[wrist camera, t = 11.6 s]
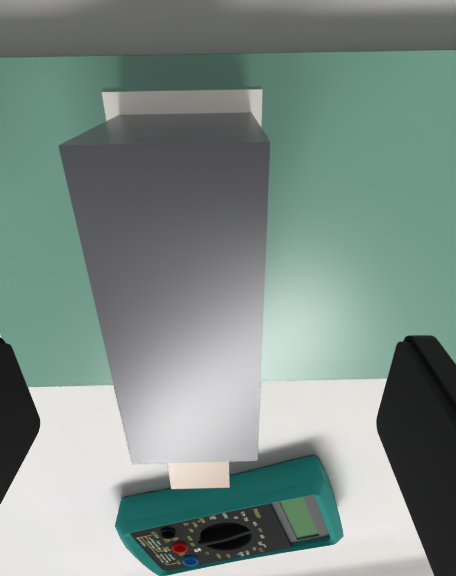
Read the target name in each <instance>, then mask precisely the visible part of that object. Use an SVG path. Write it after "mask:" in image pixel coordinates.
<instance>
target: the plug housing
mask: <svg viewBox="0 0 456 576" xmlns="http://www.w3.org/2000/svg"><path fill="white" fill-rule="evenodd" d="M58 147H59V151H60V156H61V160H62V164H63V169H64V173H65V177H66V182H67V186H68V190H69V194H70V199H71V203H72V207H73V212H74V216H75V220H76V225H77V229H78V233H79V238H80V242H81V246H82V251H83V255H84V259H85V264H86V268H87V272H88V277H89V281H90V285H91V290H92V294H93V298H94V303H95V307H96V311H97V315H98V320H99V324H100V328H101V333H102V337H103V341H104V346H105V350H106V354H107V359H108V363H109V367H110V372H111V376H112V380H113V385H114V389H115V393H116V398H117V402H118V406H119V411H120V415H121V419H122V423H123V428H124V432H125V436H126V441H127V445H128V449H129V454H130V458H131V462H132V464H159V463H167V465H168V472H169V478H170V485H171V489H193V488H230V486H229V462H236V461H258V437H259V412H260V387H261V362H262V337H263V312H264V288H265V263H266V238H267V213H268V188H269V163H270V140H269V139H268V137H267V136H266V134H265V133H264V131H263V129H262V128H261V126H260V125H259V123H258V122H257V120H256V119H255V117H254V116H253V114H252V113H251V112H247V113H191V114H136V115H118V116H116V117H114V118H112V119H110V120H108V121H106V122H104V123H102V124H100V125H98V126H96V127H94V128H92V129H90V130H88V131H86V132H84V133H82V134H80V135H78V136H76V137H74V138H72V139H70V140H68V141H66V142H64V143H62V144H60V145H58Z"/></svg>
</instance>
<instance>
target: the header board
mask: <svg viewBox="0 0 456 576" xmlns="http://www.w3.org/2000/svg"><path fill="white" fill-rule="evenodd" d="M247 112H251V113H252V114H253V116H254V117H255V119H256V120H257V122H258V123H259V125H260V126H261V128H262V129H263V131H264V133H265V134H266V136H267V137H268V139H269V140H270V163H269V188H268V213H267V238H266V263H265V288H264V312H263V337H262V362H261V381H297V380H338V379H379V378H388V374H389V370H390V367H391V363H392V359H393V355H394V352H395V348H396V345H397V343H398V342H403V340H404V338H405V337H406V336H408V335H432V336H434V337H435V338H437V340H438V341H439V342H440V344H441V345H442V346H443V348H444V349H445V350H446V352H447V353H448V354H449V356H450V357H451V358H452V360H453V361H454V362H455V364H456V50H424V51H365V52H305V53H245V54H185V55H126V56H66V57H6V58H0V334H1V337H2V339H3V340H4V341H5V342H6V343H8V344H10V345H11V346H12V348H13V351H14V353H15V356H16V358H17V361H18V364H19V366H20V369H21V371H22V374H23V376H24V379H25V382H26V384H27V387H50V386H91V385H113V380H112V376H111V372H110V367H109V363H108V359H107V354H106V350H105V346H104V341H103V337H102V333H101V328H100V324H99V320H98V315H97V311H96V307H95V303H94V298H93V294H92V290H91V285H90V281H89V277H88V272H87V268H86V264H85V259H84V255H83V251H82V246H81V242H80V238H79V233H78V229H77V225H76V220H75V216H74V212H73V207H72V203H71V199H70V194H69V190H68V186H67V182H66V177H65V173H64V169H63V164H62V160H61V156H60V151H59V147H58V145H60V144H62V143H64V142H66V141H68V140H70V139H72V138H74V137H76V136H78V135H80V134H82V133H84V132H86V131H88V130H90V129H92V128H94V127H96V126H98V125H100V124H102V123H104V122H106V121H108V120H110V119H112V118H114V117H116V116H118V115H136V114H191V113H247Z"/></svg>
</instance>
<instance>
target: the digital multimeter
mask: <svg viewBox="0 0 456 576" xmlns="http://www.w3.org/2000/svg"><path fill="white" fill-rule="evenodd" d="M229 486H230V488H193V489H171V488H169V489H164V490H159V491H154V492H148V493H143V494H137V495H133V496H128V497H125V498H123V499H122V500H121V502H120V506H119V511H118V515H117V520H116V524H115V527H116V529H117V532H118V534H119V536H120V538H121V540H122V542H123V543H124V545H125V547H126V548H127V549H128V550H129V551H130V552H131V553H132V554H133V555H134V556H135V557H136V558H137V559H138V560H139V561H140V562H141V563H142V564H143V565H144V566H146V567H147V568H148V569H150V570H151V571H152V572H154V573H155V574H157V575H158V576H167V575H172V574H176V573H181V572H186V571H191V570H195V569H200V568H205V567H210V566H215V565H220V564H225V563H230V562H235V561H240V560H246V559H251V558H257V557H262V556H268V555H274V554H279V553H285V552H292V551H298V550H304V549H310V548H317V547H323V546H329V545H334V544H336V543H337V542H338V541H339V540H340V539H341V538H342V537H343V530H342V525H341V521H340V516H339V512H338V509H337V505H336V501H335V497H334V493H333V490H332V487H331V484H330V481H329V478H328V476H327V474H326V472H325V469H324V467H323V466H322V464H321V462H320V460H319V458H318V457H315V456H308V457H303V458H299V459H294V460H290V461H286V462H282V463H278V464H275V465H271V466H267V467H263V468H259V469H255V470H251V471H247V472H242V473H238V474H234V475H229ZM199 531H200V532H199Z"/></svg>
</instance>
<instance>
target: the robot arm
mask: <svg viewBox="0 0 456 576" xmlns="http://www.w3.org/2000/svg"><path fill="white" fill-rule="evenodd" d="M376 424H377V431H378V434H379V437H380V439H381V442H382V444H383V447H384V449H385V452H386V454H387V457H388V459H389V462H390V464H391V467H392V469H393V472H394V475H395V477H396V480H397V482H398V485H399V487H400V490H401V492H402V495H403V497H404V500H405V502H406V505H407V507H408V510H409V513H410V515H411V518H412V520H413V523H414V525H415V528H416V530H417V533H418V535H419V538H420V540H421V543H422V545H423V548H424V550H425V553H426V556H427V558H428V561H429V563H430V566H431V568H432V571H433V573H434V576H456V364H455V362H454V361H453V360H452V358H451V357H450V356H449V354H448V353H447V352H446V350H445V349H444V348H443V346H442V345H441V344H440V342H439V341H438V340H437V338H435V337H434V336H432V335H408V336H406V337H405V338H404V340H403V342H398V343H397V345H396V348H395V352H394V355H393V359H392V363H391V367H390V370H389V374H388V378H387V381H386V385H385V389H384V393H383V396H382V400H381V404H380V408H379V411H378V415H377V420H376ZM39 428H40V418H39V415H38V413H37V410H36V407H35V405H34V402H33V400H32V397H31V395H30V392H29V389H28V387H27V384H26V382H25V379H24V376H23V374H22V371H21V369H20V366H19V364H18V361H17V358H16V356H15V353H14V351H13V348H12V346H11V345H10V344H8V343H6V342H5V341H4V340H3V339H2V338H0V504H1V502H2V500H3V498H4V496H5V495H6V493H7V491H8V489H9V487H10V485H11V483H12V481H13V479H14V478H15V476H16V474H17V472H18V470H19V468H20V466H21V464H22V462H23V461H24V459H25V457H26V455H27V453H28V451H29V449H30V447H31V445H32V444H33V442H34V440H35V438H36V436H37V434H38V432H39Z"/></svg>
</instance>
